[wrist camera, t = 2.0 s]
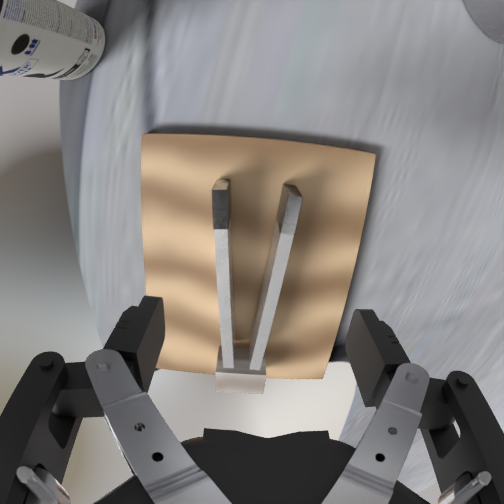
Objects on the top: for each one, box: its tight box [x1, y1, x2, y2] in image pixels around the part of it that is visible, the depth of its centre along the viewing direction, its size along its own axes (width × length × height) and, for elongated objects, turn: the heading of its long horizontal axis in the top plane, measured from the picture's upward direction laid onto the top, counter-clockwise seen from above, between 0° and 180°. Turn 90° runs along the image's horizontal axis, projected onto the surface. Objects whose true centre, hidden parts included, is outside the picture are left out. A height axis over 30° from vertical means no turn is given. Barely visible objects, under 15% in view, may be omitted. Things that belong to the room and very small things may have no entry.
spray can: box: [0, 0, 106, 80], centre depth 13 cm, size 7×7×20 cm
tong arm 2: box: [249, 183, 303, 370], centre depth 28 cm, size 17×1×4 cm, turn 170°
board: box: [141, 133, 376, 394], centre depth 29 cm, size 26×20×6 cm
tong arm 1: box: [212, 179, 235, 368], centre depth 28 cm, size 17×1×4 cm, turn 0°
